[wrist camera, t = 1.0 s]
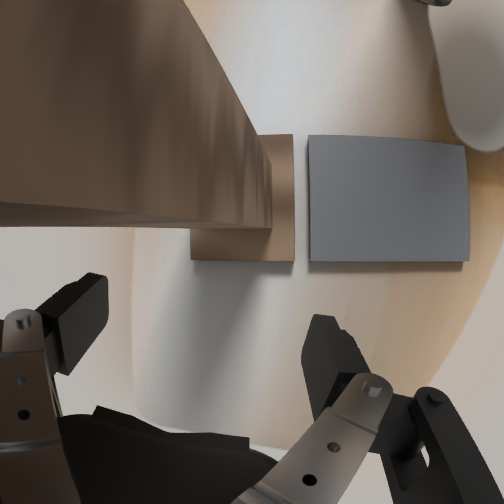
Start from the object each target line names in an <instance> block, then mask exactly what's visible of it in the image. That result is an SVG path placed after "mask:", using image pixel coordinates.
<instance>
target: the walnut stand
mask: <svg viewBox="0 0 504 504" xmlns="http://www.w3.org/2000/svg"><path fill="white" fill-rule="evenodd" d="M29 226H30V227H33V226H34V227H37V226H38V227H46V226H48V227H49V226H50V227H53V226H54V227H55V226H56V227H58V226H60V227H64V226H66V227H68V226H69V227H73V226H74V227H77V226H78V227H150V228H190V246H191V260H227V261H294V260H295V203H294V153H293V135H292V134H279V135H257V133H256V131H255V129H254V127H253V125H252V123H251V121H250V119H249V117H248V116H247V114H246V112H245V110H244V108H243V106H242V104H241V102H240V100H239V98H238V96H237V94H236V93H235V91H234V89H233V87H232V85H231V83H230V81H229V79H228V78H227V76H226V74H225V72H224V70H223V68H222V67H221V65H220V63H219V61H218V59H217V57H216V56H215V54H214V52H213V50H212V49H211V47H210V45H209V43H208V42H207V40H206V38H205V36H204V35H203V33H202V31H201V29H200V28H199V26H198V24H197V22H196V21H195V19H194V17H193V16H192V14H191V12H190V11H189V9H188V7H187V6H186V4H185V2H184V1H183V0H0V227H29Z"/></svg>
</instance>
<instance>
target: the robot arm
mask: <svg viewBox="0 0 504 504" xmlns="http://www.w3.org/2000/svg"><path fill="white" fill-rule="evenodd" d="M419 1H421V2H423V3H426V4H429V5H433V6H447V5H448V4H450V3H451V1H452V0H419ZM108 315H109V303H108V279H107V277H106V276H103V275H99V274H95V273H90V272H89V273H87V274H86V275H85V276H83V277H82V278H81V279H79V280H78V281H77V282H76V281H75V282H72V283H70V284H67V285H65V286H64V287H62V288H61V289H60V290H59V291H58V292H56V293H55V294H54V295H52V297H50V298H49V299H48V300H46V301H45V302H44V303H43V304H42V305H40V306H39V307H38V308H37V309H36V310H31V309H19V310H16V311H13V312H11V313H9V314H8V315H7V316H6V317H5V319H4V320H0V504H337V503H338V501H339V500H340V498H341V497H342V495H343V493H344V492H345V490H346V489H347V487H348V485H349V483H350V482H351V480H352V479H353V477H354V475H355V474H356V472H357V470H358V468H359V467H360V465H361V463H362V461H363V459H364V458H365V456H366V454H367V452H372V453H377V454H380V456H381V460H382V463H383V467H384V470H385V474H386V477H387V481H388V485H389V488H390V492H391V496H392V500H393V503H394V504H504V499H503V497H502V494H501V492H500V490H499V488H498V486H497V484H496V482H495V480H494V478H493V476H492V474H491V472H490V470H489V468H488V466H487V464H486V462H485V460H484V458H483V457H482V455H481V453H480V451H479V449H478V447H477V446H476V444H475V442H474V440H473V439H472V437H471V435H470V433H469V431H468V429H467V428H466V426H465V424H464V422H463V421H462V419H461V417H460V416H459V414H458V412H457V411H456V409H455V407H454V406H453V404H452V402H451V401H450V399H449V398H448V396H447V395H446V394H444V393H443V392H442V391H440V390H438V389H436V388H433V387H421V388H419V389H418V390H417V392H416V393H415V395H414V397H413V398H412V397H407V396H403V395H398V394H394V393H393V388H392V386H391V384H390V383H389V382H388V381H387V380H385V379H384V378H382V377H381V376H379V375H376V374H373V373H371V371H370V369H369V367H368V365H367V363H366V361H365V360H364V358H363V356H362V354H361V352H360V350H359V348H358V347H357V344H356V342H355V340H354V338H353V337H352V336H351V335H350V334H349V333H347V332H346V331H345V330H340V328H339V325H338V323H337V321H336V319H335V317H334V316H327V315H319V314H314V316H313V317H312V320H311V323H310V326H309V330H308V333H307V336H306V339H305V342H304V345H303V349H302V354H301V363H302V368H303V372H304V377H305V381H306V386H307V390H308V395H309V400H310V404H311V409H312V413H313V418H314V423H313V424H312V425H311V427H310V428H309V429H308V430H307V431H306V432H305V434H304V435H303V436H302V437H301V438H300V439H299V440H298V442H297V443H296V444H295V445H294V446H293V447H292V448H291V449H290V450H289V451H288V453H287V454H286V455H285V456H284V457H283V458H282V459H281V460H280V461H279V462H278V461H276V460H275V459H273V458H271V457H269V456H267V455H265V454H263V453H261V452H258V451H256V450H252V449H250V448H249V438H248V437H239V436H231V435H224V434H217V433H169V432H166V431H163V430H161V429H159V428H157V427H154V426H152V425H150V424H148V423H146V422H144V421H141V420H140V419H137V418H136V417H134V416H131V415H128V414H124V413H120V412H117V411H114V410H111V409H108V408H104V407H101V406H97V407H96V409H95V411H94V412H93V414H92V415H89V414H75V415H68V416H63V414H62V410H61V406H60V402H59V398H58V394H57V389H56V384H55V380H54V375H55V373H56V372H59V373H61V374H64V375H67V376H68V375H69V374H70V373H71V372H72V370H73V369H74V367H75V366H76V365H77V363H78V362H79V361H80V359H81V358H82V357H83V355H84V354H85V352H86V351H87V349H88V348H89V347H90V345H91V344H92V343H93V342H94V340H95V339H96V338H97V336H98V335H99V334H100V332H101V331H102V330H103V329H104V327H105V326H106V324H107V320H108ZM424 445H425V447H426V450H427V452H428V455H429V466H428V467H427V465H426V462H425V460H424V457H423V455H422V453H421V449H422V448H423V446H424Z"/></svg>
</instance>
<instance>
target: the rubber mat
mask: <svg viewBox="0 0 504 504" xmlns="http://www.w3.org/2000/svg"><path fill="white" fill-rule="evenodd" d="M308 148H309V179H310V261H469V253H470V208H469V188H468V175H467V165H466V156H465V148H464V146H460V145H453V144H446V143H438V142H429V141H420V140H410V139H399V138H386V137H369V136H346V135H308Z"/></svg>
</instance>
